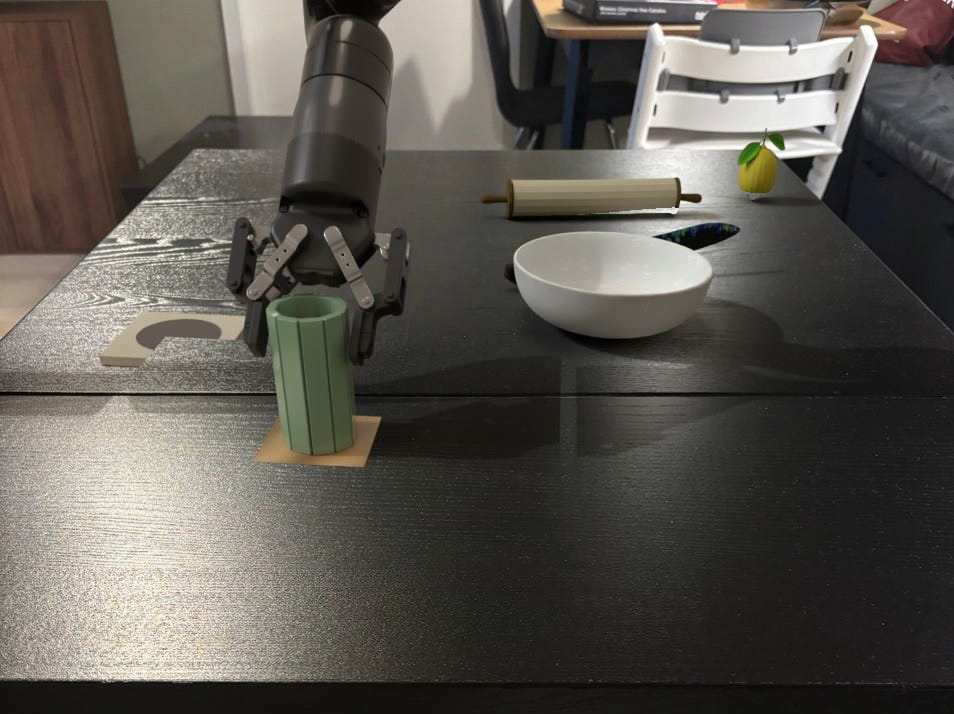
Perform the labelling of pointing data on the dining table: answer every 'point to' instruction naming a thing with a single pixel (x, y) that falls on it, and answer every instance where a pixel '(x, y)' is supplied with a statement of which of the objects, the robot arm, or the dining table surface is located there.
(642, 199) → the rolling pin
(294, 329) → the ceramic tube
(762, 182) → the lemon
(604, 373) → the dining table surface
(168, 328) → the plate
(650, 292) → the serving bowl
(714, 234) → the knife
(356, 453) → the peg stand
